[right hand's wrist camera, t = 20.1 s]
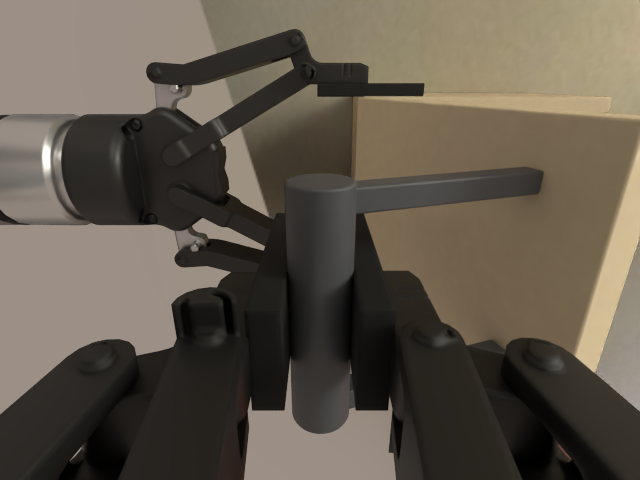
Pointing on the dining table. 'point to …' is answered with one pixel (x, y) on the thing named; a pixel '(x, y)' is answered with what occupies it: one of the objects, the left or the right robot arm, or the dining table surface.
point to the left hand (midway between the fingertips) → (411, 171)
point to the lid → (465, 232)
